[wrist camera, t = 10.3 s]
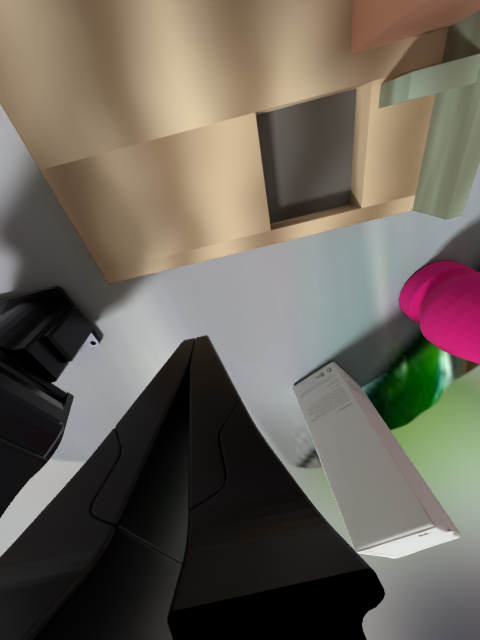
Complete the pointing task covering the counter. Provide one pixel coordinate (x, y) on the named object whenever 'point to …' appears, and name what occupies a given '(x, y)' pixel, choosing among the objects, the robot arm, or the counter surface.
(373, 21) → the block
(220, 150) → the board
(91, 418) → the counter surface
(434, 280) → the pepper mill
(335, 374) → the skincare box
